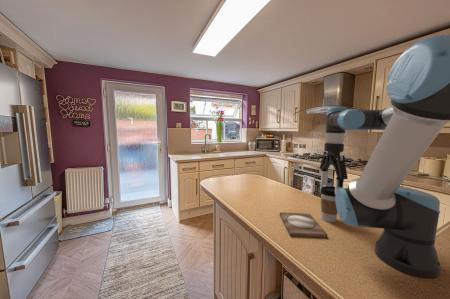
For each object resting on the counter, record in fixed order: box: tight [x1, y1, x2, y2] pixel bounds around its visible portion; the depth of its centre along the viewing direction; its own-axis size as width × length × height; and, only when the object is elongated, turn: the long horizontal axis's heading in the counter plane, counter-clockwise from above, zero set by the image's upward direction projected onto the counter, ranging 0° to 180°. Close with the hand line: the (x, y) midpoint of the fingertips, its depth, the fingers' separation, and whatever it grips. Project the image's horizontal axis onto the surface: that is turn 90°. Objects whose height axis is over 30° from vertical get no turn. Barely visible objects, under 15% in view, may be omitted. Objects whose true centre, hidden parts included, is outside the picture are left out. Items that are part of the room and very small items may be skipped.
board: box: [279, 211, 328, 239], centre depth 82 cm, size 18×14×2 cm
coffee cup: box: [319, 185, 338, 223], centre depth 88 cm, size 8×8×15 cm
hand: (330, 188), depth 87 cm, fingers open, 13 cm apart
